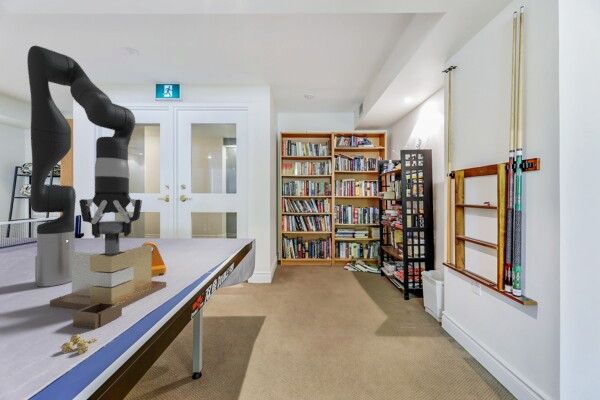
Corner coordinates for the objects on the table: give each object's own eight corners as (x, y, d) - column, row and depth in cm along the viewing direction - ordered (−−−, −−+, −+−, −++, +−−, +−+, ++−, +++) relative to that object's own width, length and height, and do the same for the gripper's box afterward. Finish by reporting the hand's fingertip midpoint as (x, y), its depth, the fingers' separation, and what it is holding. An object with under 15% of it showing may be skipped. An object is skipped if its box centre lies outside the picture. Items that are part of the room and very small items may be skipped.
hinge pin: (92, 276, 66) (92, 222, 66) (113, 270, 72) (113, 220, 72) (111, 278, 65) (111, 223, 65) (130, 271, 71) (130, 221, 71)
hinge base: (13, 318, 59) (13, 261, 59) (115, 282, 85) (115, 242, 85) (96, 329, 55) (96, 267, 55) (176, 287, 81) (176, 245, 80)
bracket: (132, 280, 88) (132, 246, 88) (132, 274, 94) (132, 243, 94) (166, 274, 94) (166, 243, 94) (164, 270, 100) (164, 240, 100)
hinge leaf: (133, 292, 71) (133, 252, 71) (111, 301, 65) (111, 258, 64) (86, 287, 74) (86, 249, 74) (60, 296, 68) (60, 255, 68)
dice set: (84, 357, 46) (84, 347, 46) (53, 359, 45) (53, 349, 45) (102, 341, 51) (102, 332, 51) (74, 343, 50) (74, 334, 50)
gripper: (73, 173, 62) (72, 240, 62) (140, 176, 68) (140, 237, 68) (85, 176, 69) (85, 236, 69) (145, 178, 75) (145, 233, 75)
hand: (112, 236), depth 68 cm, fingers closed on hinge pin, 6 cm apart
